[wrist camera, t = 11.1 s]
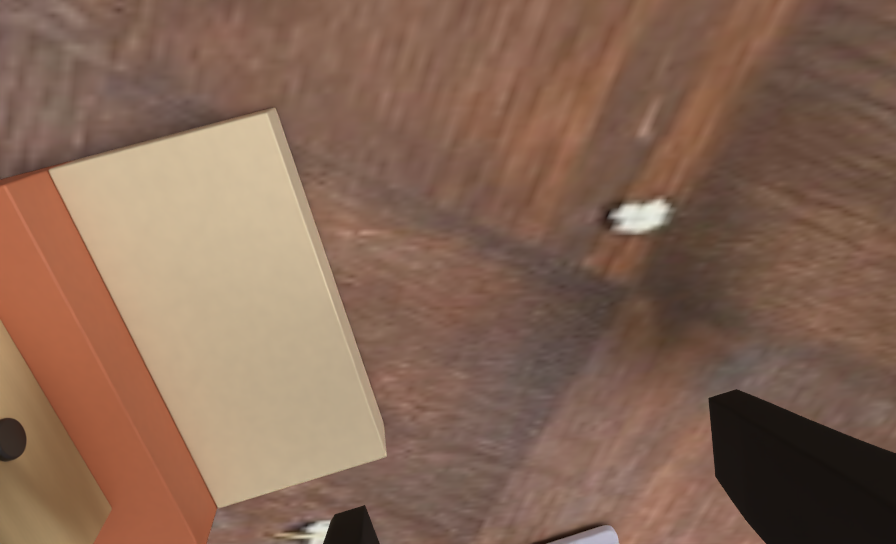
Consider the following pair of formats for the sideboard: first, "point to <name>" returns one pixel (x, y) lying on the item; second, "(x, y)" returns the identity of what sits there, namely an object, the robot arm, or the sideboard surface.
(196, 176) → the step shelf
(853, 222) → the sideboard surface
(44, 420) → the beige block with hole
